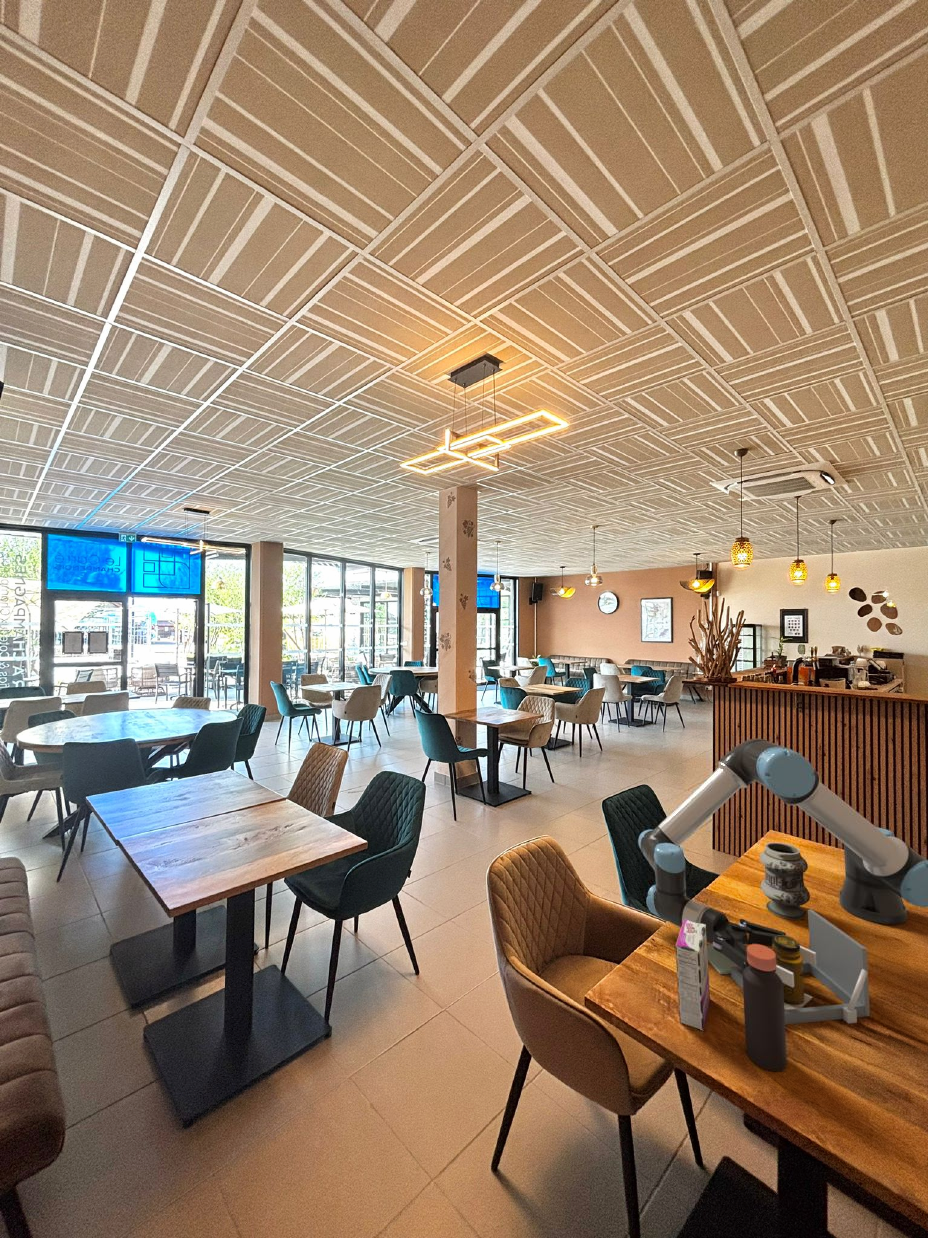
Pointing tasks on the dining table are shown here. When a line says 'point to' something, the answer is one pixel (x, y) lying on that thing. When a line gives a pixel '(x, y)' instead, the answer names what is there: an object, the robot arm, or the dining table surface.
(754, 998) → the bottle
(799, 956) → the condiment
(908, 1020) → the dining table surface
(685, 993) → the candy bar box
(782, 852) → the apothecary jar
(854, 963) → the grey holder frame
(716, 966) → the pad
